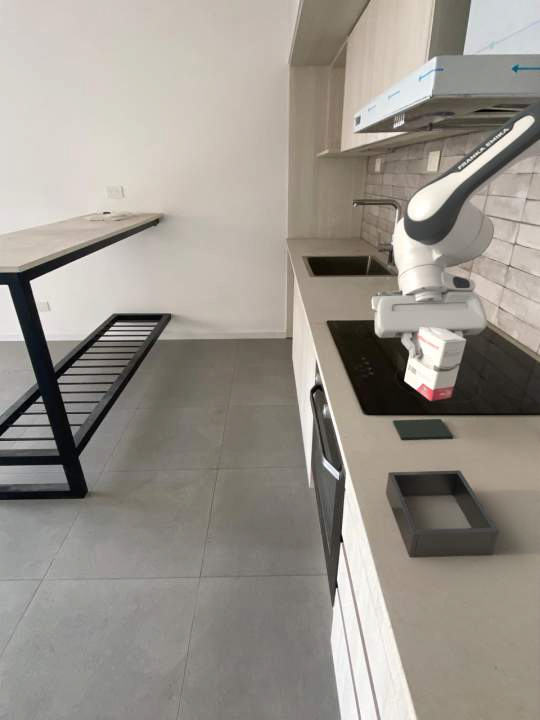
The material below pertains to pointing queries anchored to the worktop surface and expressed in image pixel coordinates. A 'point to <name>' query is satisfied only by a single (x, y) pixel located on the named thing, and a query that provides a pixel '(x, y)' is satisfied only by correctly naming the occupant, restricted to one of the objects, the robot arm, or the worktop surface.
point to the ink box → (435, 362)
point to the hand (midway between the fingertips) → (435, 356)
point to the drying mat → (422, 429)
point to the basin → (441, 540)
